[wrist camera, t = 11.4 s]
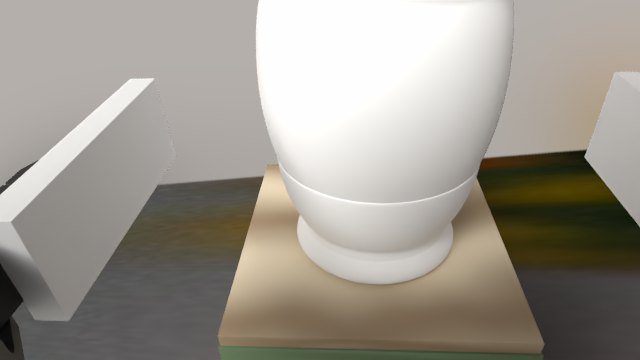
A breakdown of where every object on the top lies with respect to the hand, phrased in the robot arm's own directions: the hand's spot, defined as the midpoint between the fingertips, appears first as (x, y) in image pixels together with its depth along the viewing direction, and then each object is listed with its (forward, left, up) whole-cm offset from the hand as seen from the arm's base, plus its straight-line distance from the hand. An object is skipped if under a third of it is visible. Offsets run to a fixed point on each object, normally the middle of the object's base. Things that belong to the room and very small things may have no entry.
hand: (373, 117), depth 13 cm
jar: (+3, -6, -11) cm, 13 cm away
